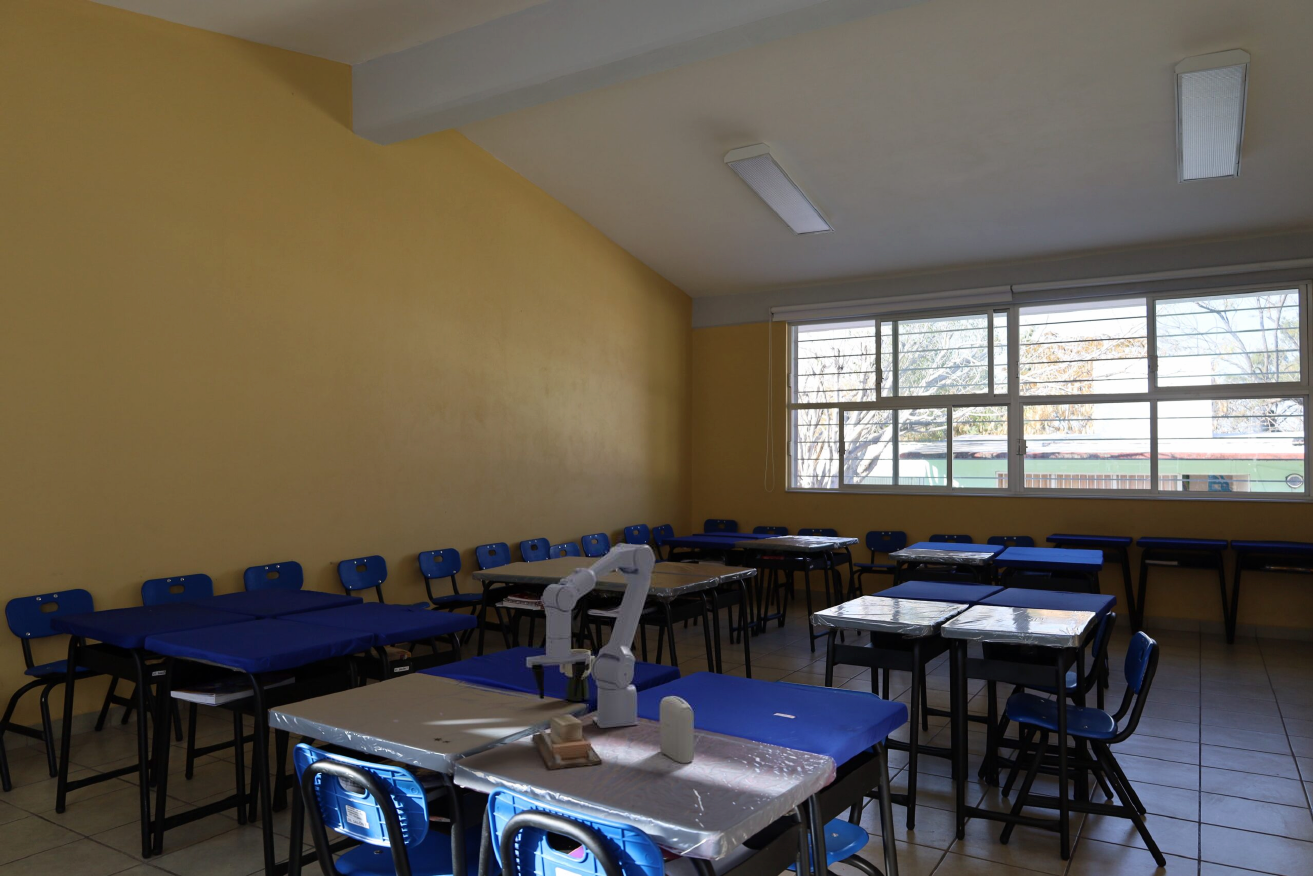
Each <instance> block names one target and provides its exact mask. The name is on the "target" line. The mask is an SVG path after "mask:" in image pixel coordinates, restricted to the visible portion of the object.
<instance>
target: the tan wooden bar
mask: <svg viewBox="0 0 1313 876" xmlns="http://www.w3.org/2000/svg"><path fill="white" fill-rule="evenodd" d="M591 746H592V743H591V741H590V740H587V741H581V742H570V743H560V744H552V757H553V759H554V756H553V755H554V753H559V755H560V757H561V759H562V758H572V757H582V756H586V750H591Z"/></svg>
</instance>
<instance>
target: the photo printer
mask: <svg viewBox="0 0 1313 876" xmlns="http://www.w3.org/2000/svg"><path fill="white" fill-rule="evenodd" d="M694 717H695V716H694V710H693V709H692V707H691V706H690V704H689V703H688V702H687V701H686V700H684V699H683V698H682V697H679V696H675V695H670V696H666V697H663V698H662V699H661V701H660V703H659V749H660V751H661V752H662V753H663V754H665V755H666V756H668V757H669V758H670V759H672V760H674V761H676V762H678V763H681V764H687V763H691V762H693V760H695V759H694V758H695V737H694V735H695V727H694V726H695V725H694V724H695V723H694V720H695V719H694Z"/></svg>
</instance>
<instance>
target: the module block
mask: <svg viewBox="0 0 1313 876" xmlns="http://www.w3.org/2000/svg"><path fill="white" fill-rule="evenodd" d="M549 733H550V740H551V742H552V743H553V744H560V743H570V742H581V741H582V734H583V722H582V721H581V720H579V719H577V718H576V717H575V716H573V715H571V714H570V713H569V714H568V713H567V714H561V715H554V716H550V732H549Z"/></svg>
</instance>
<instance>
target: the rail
mask: <svg viewBox="0 0 1313 876" xmlns="http://www.w3.org/2000/svg"><path fill="white" fill-rule="evenodd" d="M538 729H539V733H538V734H539V735H540V736H541V738H542V740H543V742H544V743H545V745H546V747H547V749H548V750H549V752H550V754H551V756H552V744H553V743H552V742H551V740H550V738H549V737H548V735H547V733H548V732H547V731H546V730H545V728H538ZM582 741H584V739H583V738H582ZM553 756H554V761H555V763H556V764H561V757H560V755H559V753H554V755H553ZM586 756H587V758H588V759H589V760H594V753H593V752H592V750H586Z"/></svg>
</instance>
